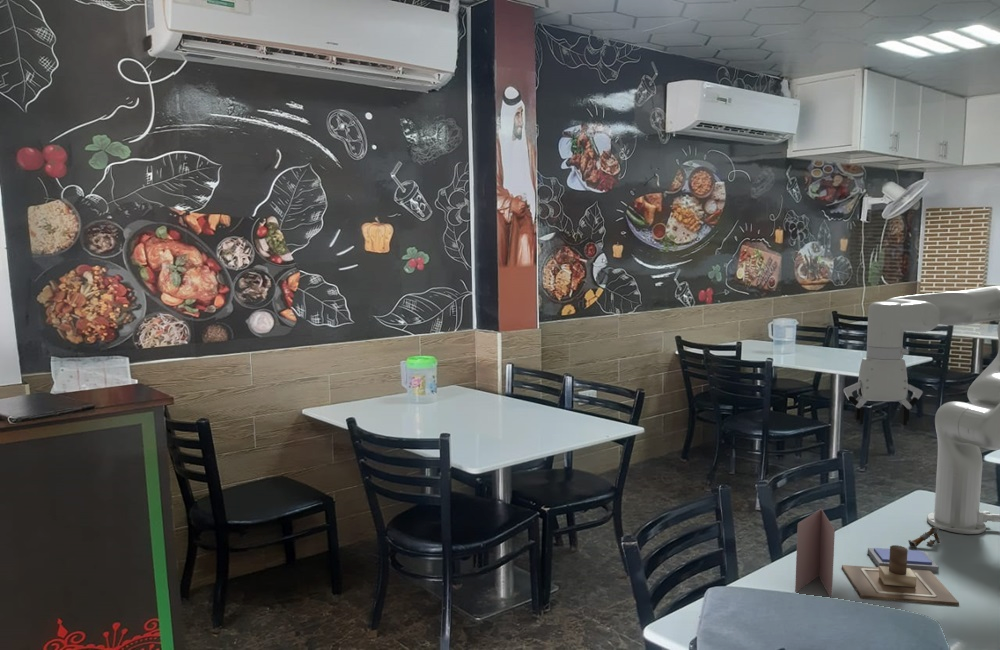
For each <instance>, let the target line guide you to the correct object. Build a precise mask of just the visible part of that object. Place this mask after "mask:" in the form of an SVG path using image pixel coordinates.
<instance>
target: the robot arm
mask: <svg viewBox="0 0 1000 650" xmlns="http://www.w3.org/2000/svg"><path fill="white" fill-rule="evenodd" d="M867 313H868V314H867V331H866V333H867V334H866V357H862V358H861V362H860V367H859V371H858V380H857V382H855V383H853V384H851V385H849V386H847V387H844V388H843V393H844V395H845V396H846V398H847V400H848V401H849V402H850V403H851V404H852V405H853V406H854V415H853V417H854V421H855V422H856V423H858V424H859V425H863V424H864V419H865V418H864V415H865V413H864V412H865V410H864V407H863V406H864V405H865V404H866V403H868V401H870V402H871V401H872V402H899V403H900V405H901V406H900V407H899V408H898V409H899V410H898V411H899V412H898V423H900V424H901V425H902V426H908V422H909V421H910V410H911V409H912V408H913V406H915V404H917V403H918V402H919V399H920V398H921V396H922V395H923V393H924V391H923V390H922V389H920V388H918V387H915V386H914V385H912V384H909V383H908V372H907V366H906V361H905V359H903V358H904V356H905V355H907V356H908V355H909V354H910V350H909V349H908V348H904V345H903V343H904V342H903V341H904V332H911V333H913V332H914V333H926V332H927V333H928V332H931V331H933V330H934V329H936V328H937V327H938V326H939V325H942V326H968V325H975V324H981V323H986V322H987V323H988V322H994V321H999V322H998V324H997V338H998V339H997V341H998V350H997V355H996V356H995V358H994V359H993V360H992V361H991V362H990V363H989V365H988V366H987V367H986V368H985V369H984V370H982V372H981V373H980V374H979V375H978V376H977V377H976V378H975V380H974V381H973V382H972V383H971V385H969V387H968V390H967V394H966V395H967V398H968V401H969V403H967V402H964V401H954V400H953V401H948V402H944V403H943V404H942V405H941V406H939V408H938V409H937V411H936V413H935V414H934V415H935V416H934V426H935V430H936V437H937V438H936V439H937V463H936V465H937V466H936V478H935V479H936V480H935V481H936V482H935V493H934V495H935V496H934V497H935V498H934V511H932V512H930V513H928V514H927V516H926V521H927V522H928V524H930V525H931V526H932V527H938V528H939V529H940V530H942V531H943V530H944V531H946V532H950V533H954V534H955V533H956V534H964V535H978V534H981V533H984V532H985V531H986V530H987V529H986V526H987V525H986V523H987V522H993V523H1000V514H999V513H991V512H990V511H988V510H983V511H982V509H980V505H981V490H982V488H981V487H982V475H983V456H982V451H981V449H980V448H982V449H986V450H990V451H991V450H992V451H1000V285H993V286H992V285H991V286H985V287H979V288H971V289H965V290H955V291H943V292H935V293H924V294H913V295H904V296H903V295H902V296H896V297H891V298H888V299H886V300H884V301H874V302H871V304H869V305H868V311H867ZM855 391H856V392H857V393H856V394H857V395H858V396H857V398H855V397H854V395H853V393H854V392H855ZM908 391H910V392H912V395H911V396H910V397H909V398H908V393H909V392H908Z"/></svg>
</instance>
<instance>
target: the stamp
mask: <svg viewBox="0 0 1000 650" xmlns="http://www.w3.org/2000/svg"><path fill="white" fill-rule="evenodd" d="M889 549H890V559H889V567H887V566H879V578H880V579H881V581H882V582H883V584H884V586H895V587H906V588H915V587H916V580H917V577H916V576H915V574H914V573H913V571H912V570H911V569H910V568H907V552H908V550H909V549H908V548H907V547H905V546H901V545H898V544H896V545H893V544H892V545H890V546H889Z"/></svg>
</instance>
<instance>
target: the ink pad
mask: <svg viewBox="0 0 1000 650" xmlns="http://www.w3.org/2000/svg"><path fill="white" fill-rule="evenodd" d="M907 550H908V552H907V568H910V569H911V570H925V571H931V572H932V573H939V571H940V570H939V569H940V567H939V565H938V564H937V563H936V562H935V561H934V560H933V559H932V558H931V557H930V556H929V555H928V554H927V553H926V552H925V551H923V550H917V549H915V550H911V549H907ZM867 554H868V556H869V557H870V559H872V561H873V562H874V563H875V565H876V566H877V567H879V566H887V567H889V559H890V548H880V547H874V548H873V547H867Z"/></svg>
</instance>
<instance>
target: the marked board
mask: <svg viewBox="0 0 1000 650" xmlns="http://www.w3.org/2000/svg"><path fill="white" fill-rule="evenodd" d="M841 569H842V570H843V572H844V574H845V575H846V577H847V578H848V580H849V581H850V583H851V585H853V588H854V589H855V590H856V593H857V594H858V595H859V597H860V599H869V600H881V601H882V600H883V601H891V602H892V601H895V602H907V603H909V602H910V603H921V604H933V605H934V604H936V605H945V606H946V605H949V606H960V602H959V601H958V600H957V598H956V597H955V596H954V595H953V594H952V592H950V590H949V589H948V588H947V587H945V585H944V584H943V583H942V582H941V581H940V580H939V579H938V578H937V576H935V574H934V572H931V571H925V570H912V571H913V573H914V574H915V576H916V577H917V580H916V587H915V588H906V587H895V586H884V584H883V582H882V581H881V579H880V578H879V567H878V566H877V567H876V566H864V565H863V566H862V565H848V564H847V565H846V564H842V565H841Z"/></svg>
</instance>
